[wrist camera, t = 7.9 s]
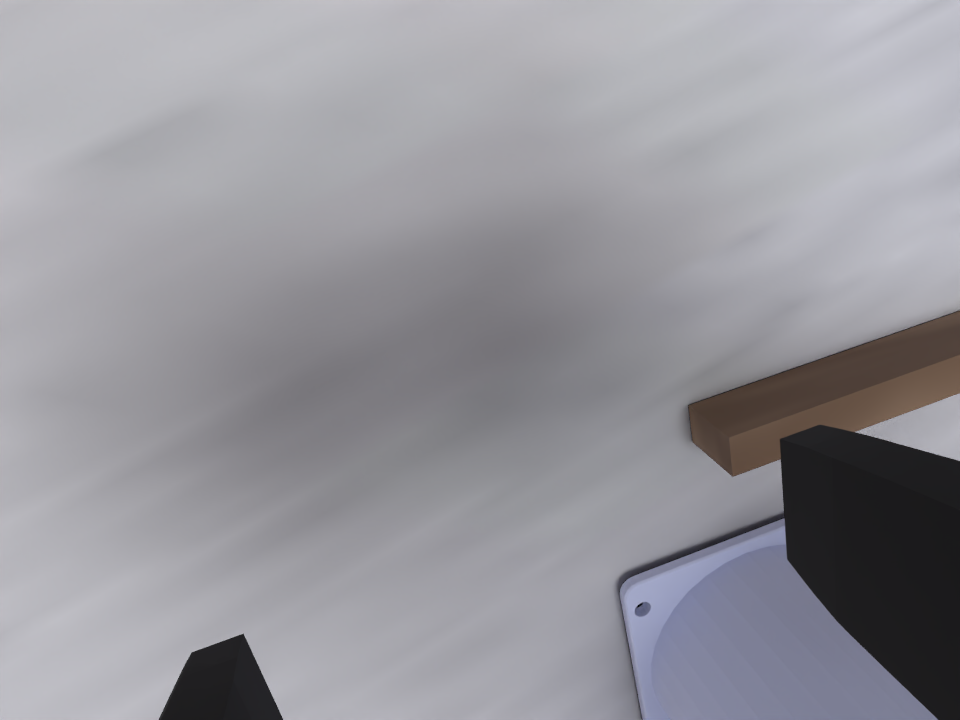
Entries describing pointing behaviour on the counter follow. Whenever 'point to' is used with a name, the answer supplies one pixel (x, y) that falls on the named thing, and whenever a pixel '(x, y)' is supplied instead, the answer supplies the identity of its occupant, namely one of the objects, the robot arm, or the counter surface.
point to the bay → (830, 394)
